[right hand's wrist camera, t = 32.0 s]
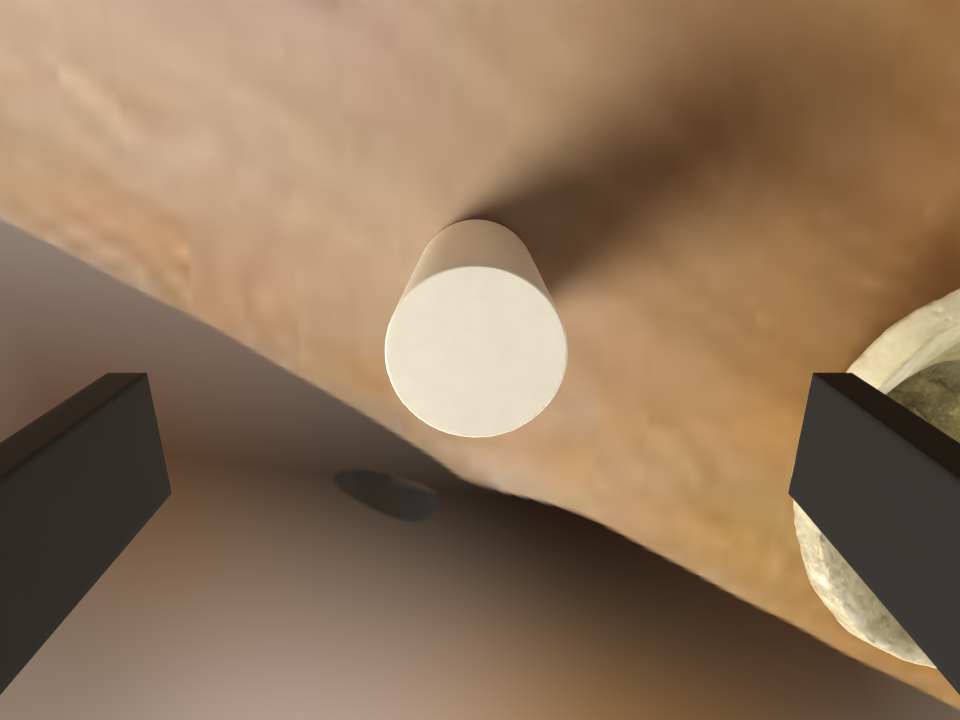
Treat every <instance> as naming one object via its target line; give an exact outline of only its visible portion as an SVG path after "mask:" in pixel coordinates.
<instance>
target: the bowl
mask: <svg viewBox="0 0 960 720" xmlns="http://www.w3.org/2000/svg"><path fill="white" fill-rule="evenodd" d="M845 373H853V374H855V375H856V376H858V377H859V378H861V379H862V380H864V381H865V382H867V383H868V384H870V385H872V386H873V387H875V388H876V389H878V390H879V391H881V392H882V393H884V394H885V395H887V396H888V397H890V398H891V399H893V400H895V401H896V402H898V403H899V404H901V405H902V406H904V407H905V408H907V409H908V410H910V411H911V412H913V413H914V414H916V415H918V416H919V417H921V418H922V419H924V420H925V421H927V422H928V423H930V424H931V425H933V426H934V427H936V428H937V429H939V430H941V431H942V432H944V433H945V434H947V435H948V436H950V437H951V438H953V439H954V440H956V441H957V442H959V443H960V288H959V289H957V290H956V291H953V292H951V293H949V294H947V295H946V296H944V297H942V298H941V299H938V300H934V301H932V302H930V303H929V304H927V305H925V306H922V307H920V308H918V309H916V310H915V311H913V312H912V313H910V314H909V315H908V316H906V317H904V318H903V319H901V320H900V321H898V322H897V323H895V324H893V325H892V326H890V327H889V328H888V329H887V330H885V331H884V332H883V334H882V335H881V336H880V337H878V338H877V339H876V340H875V341H874V342H873V343H872V344H871V345H870V346H869V347H868V348H867V349H866V350H865V351H864V352H863V353H862V354H861V355H860V356H859V357H858V359H857V360H856V361H855V362H854V363H853V364H852V365H851V366H850V367H849V369H848V370H847V371H846V372H845ZM794 464H795V462H794ZM793 469H794V467H793ZM792 474H793V472H792ZM793 508H794V512H795V518H794V523H795V526H796V534H797V538H798V541H799V543H800V548H801V554H802V559H803V561H804V564H805V567H806V571H807V574H808V577H809V581H810V583H811V584H812V587H813V588H814V590H815V591H816V593H817V594H818V596H819V597H820V598H821V600H822V601H823V603H824V604H825V605H826V606H827V607H828V608H829V610H830V611H832V613H833V614H834V615H835V617H836V619H837V621H838V622H839V623H840V624H841V625H842V626H843V627H844V628H845V629H846V630H847V631H848V632H850V633H851V634H853V635H854V636H856V637H858V638H860V639H862V640H864V641H866V642H868V643H870V644H871V645H873V646H875V647H877V648H879V649H881V650H883V651H885V652H888V653H890V654H892V655H893V656H895V657H897V658H899V659H902V660H905V661H908V662H912V663H915V664H919V665H926V666H930V667H933V668H937V667H936V666H935V665H934V664H933V663H932V662H931V660H930V659H929V658H928V657H927V656H926V655H925V653H924V652H923V651H922V650H921V649H920V647H919V646H918V645H917V644H916V643H915V642H914V640H913V639H912V638H911V637H910V636H909V634H908V633H907V632H906V631H905V630H904V629H903V627H902V626H901V625H900V624H899V623H898V622H897V620H896V619H895V618H894V617H893V616H892V614H891V613H890V612H889V611H888V610H887V609H886V607H885V606H884V605H883V604H882V603H881V602H880V600H879V599H878V598H877V597H876V596H875V594H874V593H873V592H872V591H871V590H870V589H869V587H868V586H867V585H866V584H865V583H864V582H863V580H862V579H861V578H860V577H859V576H858V574H857V573H856V572H855V571H854V570H853V569H852V567H851V566H850V565H849V564H848V563H847V562H846V560H845V559H844V558H843V557H842V556H841V554H840V553H839V552H838V551H837V550H836V549H835V547H834V546H833V545H832V544H831V543H830V542H829V540H828V539H827V538H826V537H825V536H824V534H823V533H822V532H821V531H820V530H819V529H818V527H817V526H816V525H815V524H814V523H813V522H812V520H811V519H810V518H809V517H808V516H807V514H806V513H805V512H804V511H803V510H802V509H801V507H800V506H799V505H798V504H797V503H796V502H795V500H794V499H793Z"/></svg>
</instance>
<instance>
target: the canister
mask: <svg viewBox="0 0 960 720" xmlns="http://www.w3.org/2000/svg"><path fill="white" fill-rule="evenodd" d="M567 355H568V346H567V336H566V332H565V328H564V325H563V322H562V320H561V317H560V315H559V313H558V310H557V308H556V306H555V304H554V302H553V300H552V298H551V296H550V294H549V292H548V290H547V288H546V286H545V284H544V282H543V280H542V278H541V275H540V273H539V271H538V269H537V267H536V265H535V263H534V261H533V259H532V257H531V255H530V253H529V251H528V249H527V247H526V246H525V244H524V243H523V242H522V240H521V239H520V238H519V237H518V236H517V235H516V234H515V233H513V232H512V231H511V230H509V229H508V228H506V227H504V226H503V225H500V224H498V223H495V222H492V221H488V220H480V219H474V220H465V221H461V222H457V223H455V224H452V225H450V226H448V227H446V228H445V229H443V230H442V231H440V232H439V233H438V234H437V235H436V236H435V237H434V238H433V239H432V240H431V241H430V242H429V244H428V245H427V247H426V248H425V250H424V252H423V254H422V256H421V258H420V260H419V262H418V264H417V266H416V268H415V270H414V272H413V275H412V277H411V279H410V281H409V283H408V285H407V287H406V289H405V291H404V293H403V295H402V297H401V299H400V301H399V303H398V305H397V307H396V309H395V312H394V314H393V316H392V318H391V321H390V323H389V326H388V330H387V334H386V339H385V362H386V367H387V372H388V375H389V378H390V381H391V383H392V385H393V387H394V389H395V391H396V393H397V395H398V396H399V398H400V399H401V400H402V402H403V403H404V404H405V405H406V406H407V408H408V409H409V410H410V411H411V412H412V413H414V414H415V415H416V416H417V417H418V418H419V419H421V420H422V421H424V422H425V423H427V424H428V425H430V426H432V427H434V428H436V429H438V430H441V431H444V432H446V433H449V434H453V435H458V436H464V437H488V436H495V435H499V434H503V433H506V432H509V431H512V430H514V429H516V428H518V427H520V426H522V425H524V424H526V423H527V422H529V421H530V420H532V419H533V418H534V417H536V416H537V415H538V414H539V413H540V412H541V411H542V410H543V409H544V408H545V407H546V406H547V405H548V404H549V402H550V401H551V400H552V398H553V397H554V395H555V394H556V392H557V390H558V388H559V386H560V384H561V382H562V379H563V376H564V373H565V370H566V364H567Z"/></svg>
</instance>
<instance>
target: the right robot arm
mask: <svg viewBox="0 0 960 720" xmlns="http://www.w3.org/2000/svg"><path fill="white" fill-rule="evenodd" d="M170 494H171V488H170V483H169V478H168V474H167V469H166V464H165V459H164V454H163V449H162V445H161V440H160V435H159V430H158V425H157V420H156V415H155V410H154V406H153V401H152V396H151V391H150V386H149V381H148V376H147V373H107V374H105V375H104V376H102V377H101V378H99V379H98V380H96V381H95V382H93V383H92V384H90V385H88V386H87V387H85V388H84V389H82V390H81V391H79V392H78V393H76V394H75V395H73V396H72V397H70V398H69V399H67V400H65V401H64V402H62V403H61V404H59V405H58V406H56V407H55V408H53V409H52V410H50V411H49V412H47V413H46V414H44V415H42V416H41V417H39V418H38V419H36V420H35V421H33V422H32V423H30V424H29V425H27V426H26V427H24V428H23V429H21V430H19V431H18V432H16V433H15V434H13V435H12V436H10V437H9V438H7V439H6V440H4V441H3V442H1V443H0V694H1V693H2V692H3V691H4V690H5V689H6V687H7V686H8V685H9V684H10V683H11V682H12V680H13V679H14V678H15V677H16V676H17V675H18V673H19V672H20V671H21V670H22V669H23V667H24V666H25V665H26V664H27V663H28V662H29V660H30V659H31V658H32V657H33V656H34V655H35V653H36V652H37V651H38V650H39V649H40V647H41V646H42V645H43V644H44V643H45V641H46V640H47V639H48V638H49V637H50V636H51V634H52V633H53V632H54V631H55V630H56V629H57V627H58V626H59V625H60V624H61V623H62V622H63V620H64V619H65V618H66V617H67V616H68V614H69V613H70V612H71V611H72V610H73V609H74V607H75V606H76V605H77V604H78V603H79V602H80V600H81V599H82V598H83V597H84V596H85V594H86V593H87V592H88V591H89V590H90V589H91V587H92V586H93V585H94V584H95V583H96V582H97V580H98V579H99V578H100V577H101V576H102V574H103V573H104V572H105V571H106V570H107V569H108V567H109V566H110V565H111V564H112V563H113V562H114V560H115V559H116V558H117V557H118V556H119V554H120V553H121V552H122V551H123V550H124V549H125V547H126V546H127V545H128V544H129V543H130V542H131V540H132V539H133V538H134V537H135V536H136V534H137V533H138V532H139V531H140V530H141V529H142V527H143V526H144V525H145V524H146V523H147V522H148V520H149V519H150V518H151V517H152V516H153V514H154V513H155V512H156V511H157V510H158V509H159V507H160V506H161V505H162V504H163V503H164V501H165V500H166V499H167V498H168V497H169V496H170ZM789 494H790V496H791V497H792V498H793V499H794V500H795V502H796V503H797V504H798V505H799V506H800V507H801V509H802V510H803V511H804V512H805V513H806V514H807V516H808V517H809V518H810V519H811V520H812V522H813V523H814V524H815V525H816V526H817V527H818V529H819V530H820V531H821V532H822V533H823V534H824V536H825V537H826V538H827V539H828V540H829V542H830V543H831V544H832V545H833V546H834V547H835V549H836V550H837V551H838V552H839V553H840V554H841V556H842V557H843V558H844V559H845V560H846V562H847V563H848V564H849V565H850V566H851V567H852V569H853V570H854V571H855V572H856V573H857V574H858V576H859V577H860V578H861V579H862V580H863V582H864V583H865V584H866V585H867V586H868V587H869V589H870V590H871V591H872V592H873V593H874V594H875V596H876V597H877V598H878V599H879V600H880V602H881V603H882V604H883V605H884V606H885V607H886V609H887V610H888V611H889V612H890V613H891V614H892V616H893V617H894V618H895V619H896V620H897V622H898V623H899V624H900V625H901V626H902V627H903V629H904V630H905V631H906V632H907V633H908V634H909V636H910V637H911V638H912V639H913V640H914V642H915V643H916V644H917V645H918V646H919V647H920V649H921V650H922V651H923V652H924V653H925V655H926V656H927V657H928V658H929V659H930V660H931V662H932V663H933V664H934V665H935V666H936V667H937V669H938V670H939V671H940V672H941V673H942V675H943V676H944V677H945V678H946V679H947V680H948V682H949V683H950V684H951V685H952V686H953V687H954V689H955V690H956V691H957V692H958V693H959V695H960V443H959V442H957V441H956V440H954V439H953V438H951V437H950V436H948V435H947V434H945V433H944V432H942V431H941V430H939V429H937V428H936V427H934V426H933V425H931V424H930V423H928V422H927V421H925V420H924V419H922V418H921V417H919V416H918V415H916V414H914V413H913V412H911V411H910V410H908V409H907V408H905V407H904V406H902V405H901V404H899V403H898V402H896V401H895V400H893V399H891V398H890V397H888V396H887V395H885V394H884V393H882V392H881V391H879V390H878V389H876V388H875V387H873V386H872V385H870V384H868V383H867V382H865V381H864V380H862V379H861V378H859V377H858V376H856V375H855V374H853V373H813V376H812V381H811V386H810V391H809V396H808V401H807V406H806V410H805V415H804V420H803V425H802V430H801V435H800V440H799V444H798V449H797V454H796V459H795V464H794V469H793V474H792V478H791V483H790V488H789Z"/></svg>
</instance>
